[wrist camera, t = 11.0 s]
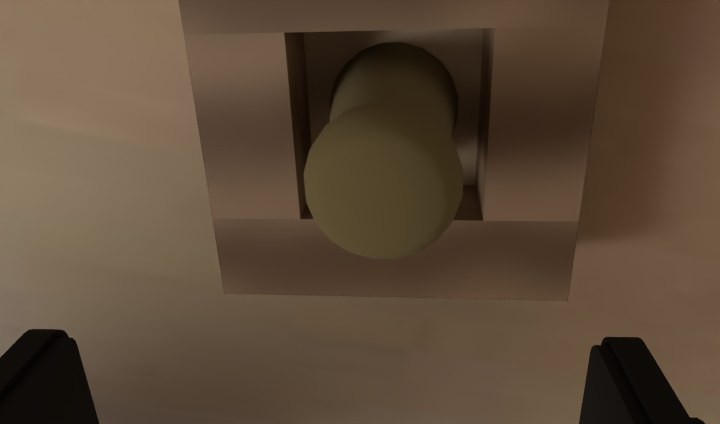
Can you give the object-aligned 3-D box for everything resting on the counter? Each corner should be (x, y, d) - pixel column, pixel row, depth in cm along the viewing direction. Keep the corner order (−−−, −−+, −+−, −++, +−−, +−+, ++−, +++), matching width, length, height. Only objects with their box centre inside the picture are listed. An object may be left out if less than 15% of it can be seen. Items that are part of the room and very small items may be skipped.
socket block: (546, 247, 31) (568, 300, 27) (251, 243, 33) (224, 293, 28) (585, -92, 24) (623, -98, 20) (210, -77, 26) (165, -79, 21)
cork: (482, 77, 27) (521, 161, 17) (421, 187, 29) (423, 316, 19) (362, 18, 26) (327, 68, 16) (310, 135, 29) (253, 241, 19)
